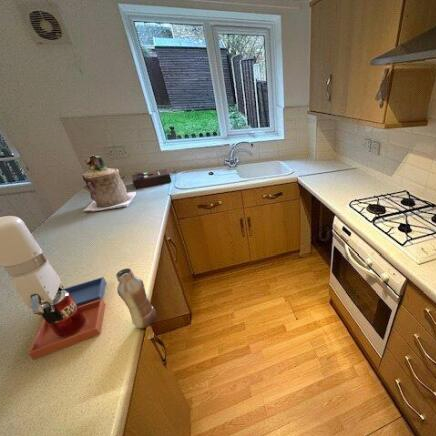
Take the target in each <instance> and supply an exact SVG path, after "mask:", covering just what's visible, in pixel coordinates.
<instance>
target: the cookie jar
mask: <svg viewBox="0 0 436 436" xmlns="http://www.w3.org/2000/svg"><path fill="white" fill-rule="evenodd" d="M88 157H89V158H86V159H85V160H84V161H85V164H86V165H87V166H89V167H88V168H89V169H88V170H87V171H86V172H85V173H83V174H82V179H83V181H84V182H85V184H84V185H83V186H82V188H83V189H84V190H86V191H87V192H89V193H90V199H91V200H92V201H91V203H89V205H88V206H87V207H86V208H84V209H83V212H91V213H92V212H95V213H96V212H99V211H105V210H112V209H119V208H126V207H129V205H131V203H132V201H133V199H134V198H135V196H136V195H137V191H131V192H127V187H126V185H125V183H124V181H123V179H122V177H121V175H120V174H119V173H120V169H118V168H111V167H107V166H105V163H104V161H103V157H102V156H101V155H94V154H92V155H89V156H88Z"/></svg>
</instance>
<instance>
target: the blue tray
mask: <svg viewBox="0 0 436 436" xmlns="http://www.w3.org/2000/svg"><path fill="white" fill-rule="evenodd" d="M106 285H107V280H106V279H105V277H104V276H102V277H99V278H98V277H97V278H95V279H91V280H87V281H85V282H82V283H78V284H76V285H72V286H68V287H64V289H62V290H65V291H68V292H69V293H70V295H71V296H72V298H73V299H74V301H75V302H76V304H77V305H78V307H79V306H82V305H85V304H88V303H91V302H94V301H97V300H100V299H103V300H104V295H105V290H106Z"/></svg>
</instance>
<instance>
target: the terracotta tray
mask: <svg viewBox="0 0 436 436" xmlns="http://www.w3.org/2000/svg"><path fill="white" fill-rule="evenodd" d="M105 308H106V303H105V301H104V298H103V299H100V300H97V301H94V302H91V303H88V304H85V305H82V306H79V309H80V310H81V312H82V313H83V315H84V316H85V318H86V321H85V323H84V325H83V326H82V327H81V328H80V329H79V330H78V331H76V332H75V333H73V334H70V335H68V336H57V335H56V334H55V333H54V332H53V330H52V329H51V328H50V326H49V325H48V324H47V323H46V321H45V320H44V319H43V318H42V320H41V322H40V325H39V328H38V329H37V333H36V335H35V337H34V339H33V341H32V344H31V346H30V348H29V350H28V353H27V355H28V356H29V357H30V358H31V359H32V360H36V359H39V358H42V357H44V356H47V355H49V354H52V353H55V352H57V351H60V350H62V349H65V348H67V347H70V346H73V345H76V344H78V343H80V342H84V341H86V340H89V339H91V338H94V337H96V336H99V335H101V333H102V328H103V327H102V326H103V320H104V314H105V310H106V309H105Z"/></svg>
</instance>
